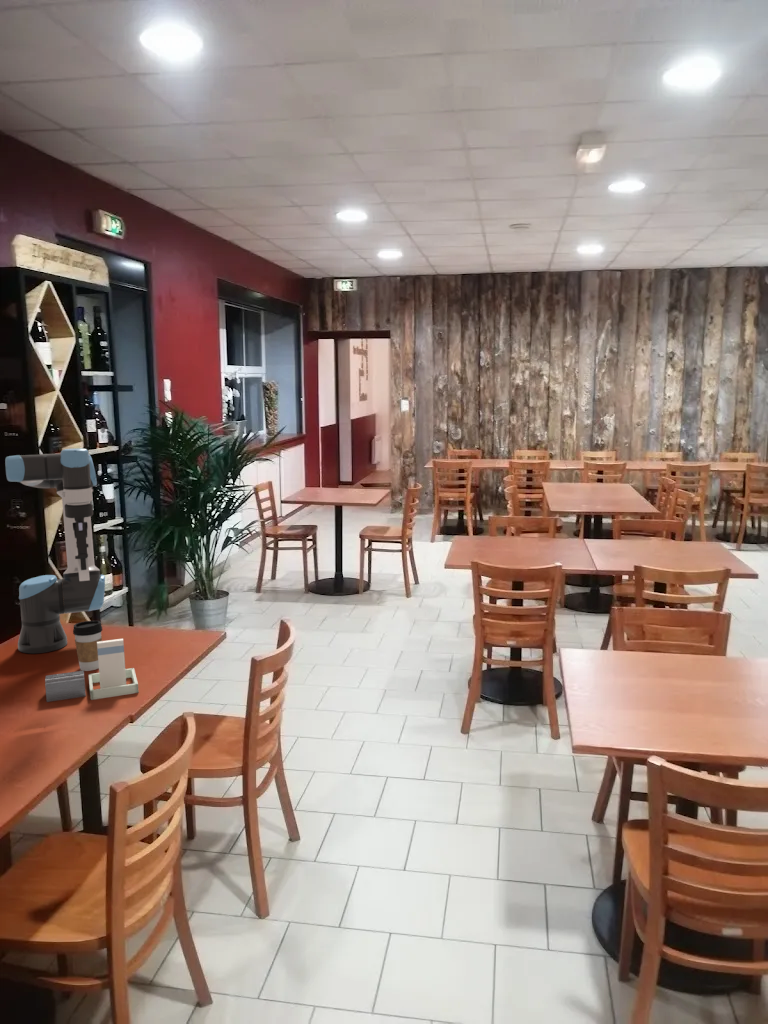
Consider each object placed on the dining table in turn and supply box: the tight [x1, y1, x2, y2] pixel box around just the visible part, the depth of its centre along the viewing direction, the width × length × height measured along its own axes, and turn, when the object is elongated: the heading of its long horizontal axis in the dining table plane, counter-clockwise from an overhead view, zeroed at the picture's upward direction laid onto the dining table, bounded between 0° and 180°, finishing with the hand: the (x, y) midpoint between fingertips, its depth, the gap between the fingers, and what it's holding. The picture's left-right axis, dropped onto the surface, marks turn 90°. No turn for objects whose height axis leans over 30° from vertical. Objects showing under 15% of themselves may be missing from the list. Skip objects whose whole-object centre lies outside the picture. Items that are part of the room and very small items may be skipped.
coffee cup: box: [72, 620, 103, 672], centre depth 238 cm, size 8×8×15 cm
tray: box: [88, 667, 140, 701], centre depth 222 cm, size 14×13×4 cm
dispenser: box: [44, 670, 87, 703], centre depth 218 cm, size 7×10×7 cm
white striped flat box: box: [97, 638, 127, 689], centre depth 221 cm, size 2×7×14 cm, turn 112°
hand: (83, 575), depth 226 cm, fingers open, 13 cm apart
